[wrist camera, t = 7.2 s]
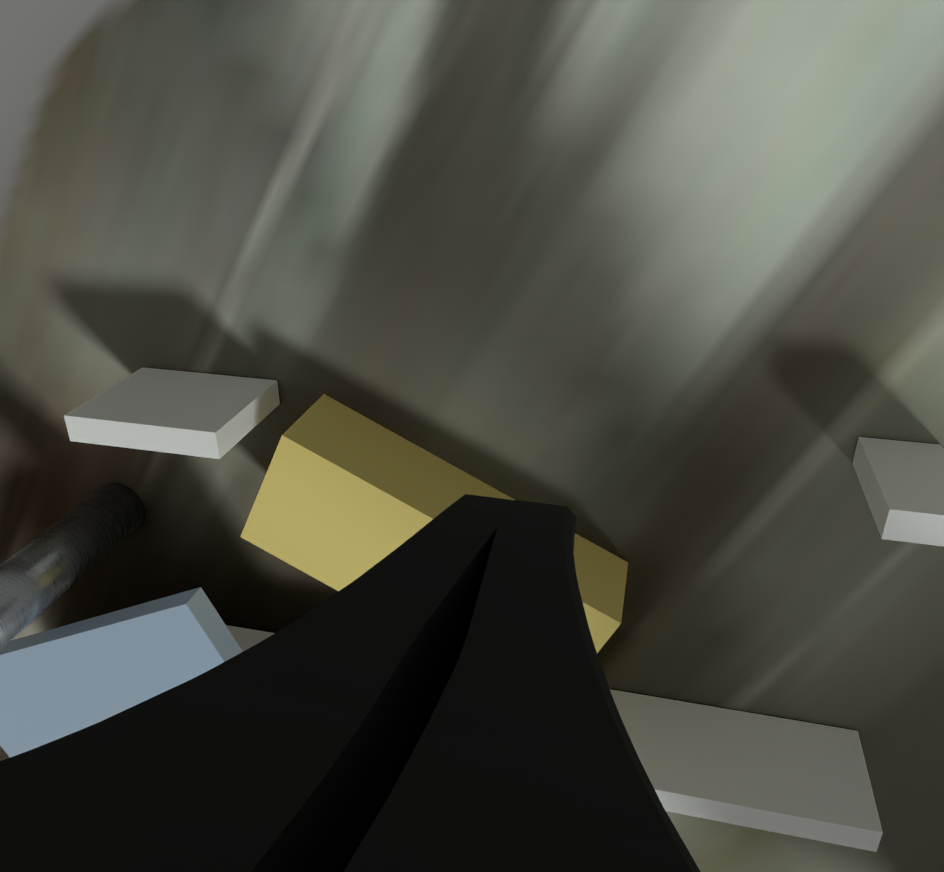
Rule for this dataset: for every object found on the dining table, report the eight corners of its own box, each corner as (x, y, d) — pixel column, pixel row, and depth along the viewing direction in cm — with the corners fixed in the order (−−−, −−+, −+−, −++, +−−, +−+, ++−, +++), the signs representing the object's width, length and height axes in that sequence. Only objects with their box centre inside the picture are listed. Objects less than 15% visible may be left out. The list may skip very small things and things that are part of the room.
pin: (138, 486, 21) (-43, 636, 16) (148, 531, 22) (-24, 690, 16) (91, 480, 21) (-102, 625, 16) (102, 525, 22) (-80, 678, 17)
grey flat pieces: (941, 444, 16) (988, 519, 13) (852, 749, 19) (876, 852, 17) (142, 367, 19) (63, 415, 17) (194, 635, 23) (136, 706, 21)
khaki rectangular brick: (628, 555, 19) (621, 623, 17) (566, 637, 20) (552, 709, 18) (328, 388, 19) (282, 435, 17) (288, 482, 20) (240, 536, 18)
